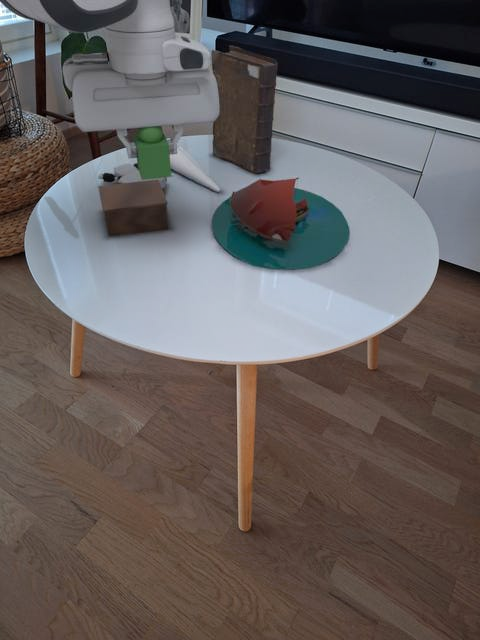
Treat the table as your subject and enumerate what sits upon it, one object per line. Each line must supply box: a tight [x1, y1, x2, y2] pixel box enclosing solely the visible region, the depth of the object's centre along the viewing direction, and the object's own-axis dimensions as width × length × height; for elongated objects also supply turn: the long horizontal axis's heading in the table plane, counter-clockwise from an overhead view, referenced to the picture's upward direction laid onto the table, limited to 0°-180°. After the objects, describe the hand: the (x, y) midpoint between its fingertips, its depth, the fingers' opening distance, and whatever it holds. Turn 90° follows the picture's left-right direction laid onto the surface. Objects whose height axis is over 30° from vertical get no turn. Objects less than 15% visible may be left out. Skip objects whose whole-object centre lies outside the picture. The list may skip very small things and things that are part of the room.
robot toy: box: [97, 162, 174, 190], centre depth 105 cm, size 12×4×15 cm
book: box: [210, 45, 279, 174], centre depth 111 cm, size 17×7×25 cm, turn 39°
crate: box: [97, 180, 169, 237], centre depth 94 cm, size 12×10×6 cm
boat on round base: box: [211, 177, 351, 271], centre depth 92 cm, size 28×28×11 cm
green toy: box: [133, 126, 172, 180], centre depth 69 cm, size 4×4×8 cm
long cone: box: [170, 145, 221, 193], centre depth 110 cm, size 6×6×19 cm
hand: (152, 154), depth 70 cm, fingers closed on green toy, 4 cm apart
